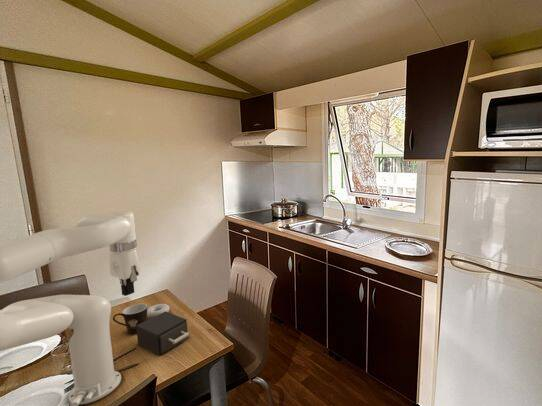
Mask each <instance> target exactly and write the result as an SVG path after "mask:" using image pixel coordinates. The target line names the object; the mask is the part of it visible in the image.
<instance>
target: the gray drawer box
mask: <svg viewBox="0 0 542 406" xmlns="http://www.w3.org/2000/svg"><path fill="white" fill-rule="evenodd" d="M185 322H186V323H187V324H188V322H187V319H186V318H184V317H181V316H179V315H177V314H174V313H171V312H170V311H169V312H166V311H165V312H163V313H161V314H159V315H157V316H155V317H153V318H151V319H149V318H148V319H147V320H146V321H144V322H142V323H140V324H138V325H136V329H137V334H136V337H137V339H136V340H137V345H138V346H140V347H141V348H144V349H145V350H147V351H150V352H151V353H153V354H156V355H157V356H161V355H162V354H164V353H161V349H160V338H159V336H160V335H162V334H164V333H166V332H167V331H169V330H171V329H173V328H175V327H177V326H178V325H180V324H183V323H185ZM180 343H182V342H180ZM180 343H179V344H180Z"/></svg>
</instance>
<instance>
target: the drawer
mask: <svg viewBox="0 0 542 406" xmlns="http://www.w3.org/2000/svg"><path fill="white" fill-rule="evenodd" d="M186 322H187V321H186ZM186 322H185V323H183V324H180V325H178V326H177V327H175V328H173V329H171V330H169V331H167V332H166V333H164V334H162V335H160V336H159V338H160V349H161V353H163V354H164V353H166V352H168V351H169V350H171V349H173V348H174V347H176V346H178V345H179V344H180V342H181V343H182V342H184V341H186V340H188V339H189V336H190V332H189V330H188V322H187V323H186Z"/></svg>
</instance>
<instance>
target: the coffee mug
mask: <svg viewBox="0 0 542 406" xmlns="http://www.w3.org/2000/svg"><path fill="white" fill-rule="evenodd" d="M147 309H148V304H147V303H136V304H133V305H129V306H127V307H126V308H125V307H124V309H122V313H116V314H114V315H113V316H112V320H113V322H114V323H116V324H118V325H121V326H123V327H126V331H127V334H128V335H132V336H133V335H137V329H136V325H138V324H140V323H142V322H144V321H146V320H148V318H147ZM117 316H122V317H123V320H124V322H120V321H118V320H116V317H117Z"/></svg>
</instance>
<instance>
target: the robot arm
mask: <svg viewBox="0 0 542 406" xmlns="http://www.w3.org/2000/svg"><path fill="white" fill-rule="evenodd" d="M105 247H109V272H110V276H112V277H115V278H118V279H119V284H120V290H121V295H122V296H125V297H127V296H129V295H132V294H134V293H135V282H136V281H137V280H138V278H137V277H138V276H139V275H140V272H141V271H140V270H141V269H140V262H139V257H138V252H137V249H138V245H137V233H136V222H135V215H134V213H133V212H132V211H130V210H116V211H111V212H108V213H103V214H102V213H101V214H90V215H85V216H83V217H82V218H80V219H79V220H78V221H77V222H76V224H75V226H74V227H58V228H51V229H44V230H41V231H38V232H35V233H32V234H29V235H26V236H23V237H20V238H16V239H13V240H10V241H7V242H3V243H1V244H0V283H4V282H8V281H11V280H13V279H15V278H18V277H21V276H23V275H25V274H27V273H30V272H32V271H34V270H36V269H39V268H41V267H43V266H46V265H48V264H50V263H53V262H55V261H57V260H60V259H63V258H67V257H72V256H76V255H79V254H84V253H88V252H92V251H95V250H99V249H102V248H105ZM111 314H112V304H111V302H110V300H108V298H105V297H103V296H99V295H91V294H90V295H89V294H55V295H47V296H43V297H37V298H30V299H24V300H19V301H15V302H13V303H10V304H8V305H7V306H5V307H4V308H2V309H0V352H2V351H5V350H9V349H12V348H17V347H20V346H24V345H29V344H31V343H34V342H38V341H42V340H46V339H49V338H52V337H54V336H57V335H59V334H61V333H62V332H64V331H65V330H67V329H71V330H73V333H72V336H71V337H70V339H69V342H68V351H69V357H70V365H71V372H72V379H73V386H74V387H73V388H72V389H71V390H70V392H69V393H68V401H69V403H70V404H69V406H79V405H80V406H81V405H87V404H90V403H94V402H96V401H98V400H100V399H103V398H104V397H106V396H107V395H109V394H110V393H112V392H113V391H114V390H115V389H116V388H117V387H118V386H119V385H120V383H121V381H122V374H121V373H120V372H119V371H117V370H115V365H114V357H113V356H114V355H113V349H112V341H111V340H112V339H111V331H110V329H111V328H110V322H111V321H110V320H111Z"/></svg>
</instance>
